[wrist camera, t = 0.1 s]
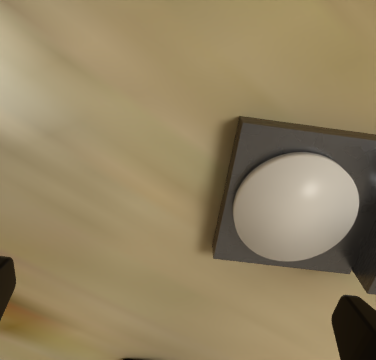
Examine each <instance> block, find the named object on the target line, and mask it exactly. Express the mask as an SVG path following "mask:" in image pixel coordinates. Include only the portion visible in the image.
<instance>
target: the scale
mask: <svg viewBox="0 0 376 360" xmlns="http://www.w3.org/2000/svg"><path fill="white" fill-rule="evenodd" d="M293 152H310V153H315V154H320V155H322V156H325V157H328V158H330V159H331V160H333V161H335V162H336V163H337V164H339V165H340V166H341V167H342V168H343V169H344V170H345V171H346V172H347V173H348V174H349V175H350V177H351V178H352V179H353V181H354V183H355V185H356V187H357V190H358V194H359V209H358V214H357V217H356V219H355V222H354V224H353V226H352V227H351V229H350V230H349V232H348V233H347V234H346V236H345V237H344V238H343V239H342V240H341V241H340V242H339V243H337V244H336V245H335V246H333V247H332V248H331V249H329V250H327V251H326V252H324V253H322V254H320V255H317V256H315V257H312V258H309V259H305V260H299V261H277V260H271V259H268V258H265V257H262V256H260V255H258V254H256V253H255V252H253V251H252V250H251V249H249V248H248V247H247V246H246V245H245V244H244V243H243V241H242V240H241V239H240V237H239V235H238V233H237V230H236V227H235V223H234V218H233V203H234V198H235V195H236V192H237V190H238V188H239V186H240V185H241V183H242V182H243V180H244V179H245V178H246V177H247V175H248V174H249V173H250V172H252V171H253V170H254V169H255V168H256V167H258V166H259V165H260V164H262V163H264V162H265V161H267V160H269V159H272V158H274V157H276V156H280V155H283V154H287V153H293ZM212 248H213V259H222V260H230V261H239V262H248V263H257V264H266V265H274V266H283V267H292V268H301V269H309V270H318V271H327V272H336V273H344V274H350V272H351V270H353V272H354V274H355V275H356V277H357V278H358V280H359V281H360V283H361V285H362V286H363V288H364V289H365V291H366V292H367V294H376V135H374V134H367V133H359V132H352V131H345V130H337V129H330V128H323V127H315V126H308V125H301V124H293V123H286V122H279V121H271V120H264V119H257V118H250V117H242V116H240V118H239V122H238V127H237V132H236V137H235V141H234V146H233V151H232V156H231V160H230V165H229V170H228V175H227V179H226V184H225V189H224V194H223V198H222V203H221V208H220V212H219V217H218V222H217V227H216V231H215V236H214V241H213V246H212Z"/></svg>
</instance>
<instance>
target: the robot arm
mask: <svg viewBox="0 0 376 360" xmlns="http://www.w3.org/2000/svg"><path fill="white" fill-rule="evenodd" d="M15 285H16V277H15V269H14V262H13V259H12V258H10V257H5V256H0V320H1V318H2V316H3V313H4V311H5V309H6V307H7V304H8V302H9V300H10V298H11V295H12V293H13V291H14V289H15ZM332 326H333V330H334V334H335V338H336V343H337V347H338V351H339V355H340V359H341V360H376V310H375V309H373V308H372V307H371V306H370V305H368V304H367V303H366V302H365V301H364V300H362V299H361V298H360V297H358V296H352V295H343V296H342V297H341V298H340V300H339V302H338V304H337V306H336V308H335V310H334V312H333V314H332ZM124 360H131V359H124Z"/></svg>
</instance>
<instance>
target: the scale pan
mask: <svg viewBox="0 0 376 360" xmlns="http://www.w3.org/2000/svg"><path fill="white" fill-rule="evenodd" d="M358 209H359V194H358V190H357V187H356V185H355V183H354V181H353V179H352V178H351V177H350V175H349V174H348V173H347V172H346V171H345V170H344V169H343V168H342V167H341V166H340V165H339V164H337V163H336V162H335V161H333V160H331V159H330V158H328V157H325V156H322V155H320V154H315V153H310V152H293V153H287V154H283V155H280V156H276V157H274V158H272V159H269V160H267V161H265V162H264V163H262V164H260V165H259V166H258V167H256V168H255V169H254V170H253V171H252V172H250V173H249V174H248V175H247V177H246V178H245V179H244V180H243V182H242V183H241V185H240V186H239V188H238V190H237V192H236V195H235V198H234V203H233V218H234V223H235V227H236V230H237V233H238V235H239V237H240V239H241V240H242V241H243V243H244V244H245V245H246V246H247V247H248V248H249V249H251V250H252V251H253V252H255V253H256V254H258V255H260V256H262V257H265V258H268V259H271V260H277V261H299V260H305V259H309V258H312V257H315V256H317V255H320V254H322V253H324V252H326V251H327V250H329V249H331V248H332V247H333V246H335V245H336V244H337V243H339V242H340V241H341V240H342V239H343V238H344V237H345V236H346V234H347V233H348V232H349V230H350V229H351V227H352V226H353V224H354V222H355V219H356V217H357V214H358Z"/></svg>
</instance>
